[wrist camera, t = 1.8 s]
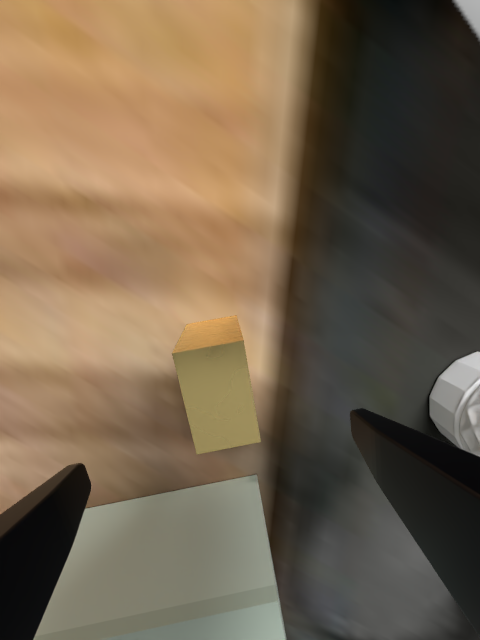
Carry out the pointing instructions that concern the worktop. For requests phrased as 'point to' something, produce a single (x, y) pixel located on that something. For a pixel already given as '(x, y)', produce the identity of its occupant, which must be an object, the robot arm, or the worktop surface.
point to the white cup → (459, 403)
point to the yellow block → (216, 385)
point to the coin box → (170, 570)
